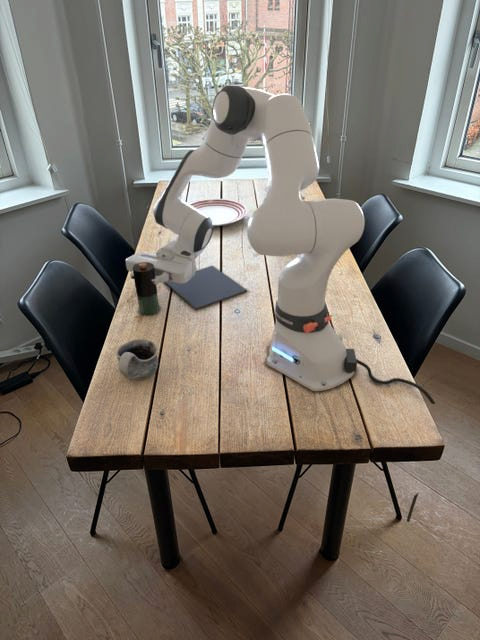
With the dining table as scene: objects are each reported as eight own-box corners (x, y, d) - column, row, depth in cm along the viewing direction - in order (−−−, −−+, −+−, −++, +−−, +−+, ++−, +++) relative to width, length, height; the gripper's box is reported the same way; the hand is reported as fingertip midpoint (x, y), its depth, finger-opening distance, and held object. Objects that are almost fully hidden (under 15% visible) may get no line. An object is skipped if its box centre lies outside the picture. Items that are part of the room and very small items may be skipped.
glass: (162, 311, 137) (160, 293, 133) (144, 317, 134) (142, 299, 131) (153, 302, 140) (151, 285, 137) (136, 308, 138) (133, 290, 134)
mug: (164, 361, 117) (159, 328, 112) (155, 396, 107) (149, 361, 101) (125, 361, 118) (119, 328, 112) (112, 395, 107) (105, 361, 102)
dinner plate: (241, 232, 182) (241, 224, 181) (173, 229, 186) (172, 221, 184) (251, 207, 205) (251, 200, 203) (190, 204, 209) (189, 197, 207)
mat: (246, 291, 145) (246, 289, 145) (196, 310, 137) (196, 308, 136) (212, 267, 159) (212, 265, 159) (164, 282, 151) (164, 281, 150)
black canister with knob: (161, 295, 134) (157, 265, 128) (142, 302, 131) (137, 271, 126) (151, 287, 138) (148, 257, 132) (133, 293, 135) (128, 263, 130)
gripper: (140, 243, 143) (111, 262, 133) (199, 255, 135) (172, 276, 125) (143, 262, 147) (114, 281, 136) (200, 275, 139) (174, 297, 129)
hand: (143, 279), depth 131 cm, fingers closed on black canister with knob, 6 cm apart
